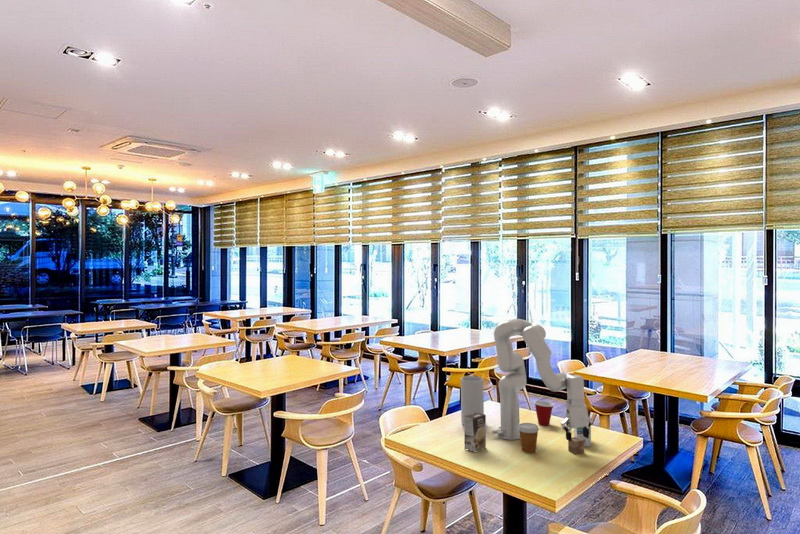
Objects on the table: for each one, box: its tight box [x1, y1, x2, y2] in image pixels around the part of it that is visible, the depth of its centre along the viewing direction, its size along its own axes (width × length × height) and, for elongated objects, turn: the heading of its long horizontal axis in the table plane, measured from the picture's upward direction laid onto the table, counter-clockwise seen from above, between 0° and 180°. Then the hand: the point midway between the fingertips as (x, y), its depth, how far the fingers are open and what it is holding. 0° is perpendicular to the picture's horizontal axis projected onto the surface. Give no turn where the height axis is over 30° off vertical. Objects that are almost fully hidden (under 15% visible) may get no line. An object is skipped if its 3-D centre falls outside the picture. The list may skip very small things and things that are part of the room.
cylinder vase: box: [460, 375, 485, 425], centre depth 277 cm, size 12×12×25 cm
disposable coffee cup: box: [518, 422, 540, 454], centre depth 234 cm, size 10×10×12 cm
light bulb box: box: [573, 425, 592, 447], centre depth 244 cm, size 11×7×11 cm, turn 168°
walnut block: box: [567, 436, 585, 455], centre depth 232 cm, size 5×5×6 cm
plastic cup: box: [533, 400, 555, 427], centre depth 273 cm, size 11×11×12 cm
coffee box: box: [463, 413, 487, 453], centre depth 238 cm, size 9×6×16 cm
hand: (577, 438), depth 232 cm, fingers open, 9 cm apart
